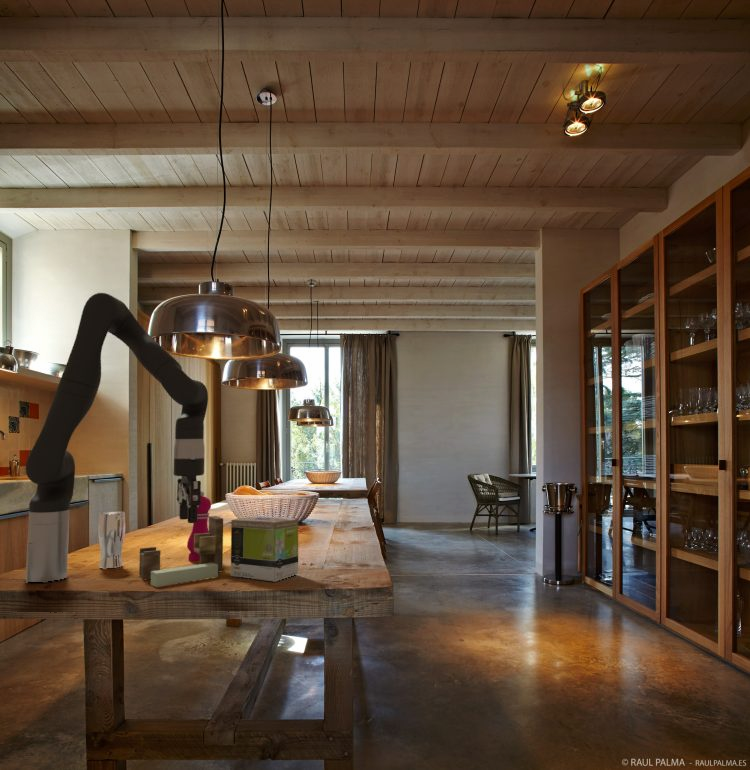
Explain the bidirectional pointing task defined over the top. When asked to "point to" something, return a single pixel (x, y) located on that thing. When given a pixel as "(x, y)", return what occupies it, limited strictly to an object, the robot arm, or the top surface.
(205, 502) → the pepper mill
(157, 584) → the rail
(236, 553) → the tea box
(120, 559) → the beer glass
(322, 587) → the top surface
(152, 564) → the block
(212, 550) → the cup bracket
